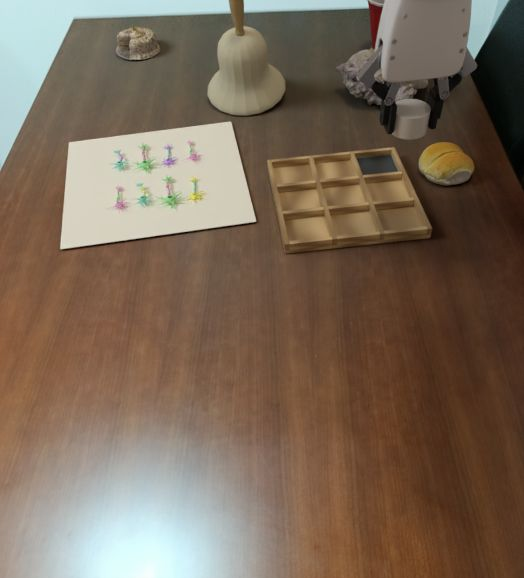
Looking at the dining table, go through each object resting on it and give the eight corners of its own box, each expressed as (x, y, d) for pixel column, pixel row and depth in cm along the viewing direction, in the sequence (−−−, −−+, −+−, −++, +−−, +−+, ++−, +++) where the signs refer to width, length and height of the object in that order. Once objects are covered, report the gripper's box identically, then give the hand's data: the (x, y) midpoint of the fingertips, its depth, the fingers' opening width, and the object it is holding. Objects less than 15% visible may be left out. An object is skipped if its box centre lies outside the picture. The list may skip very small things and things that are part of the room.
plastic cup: (350, 57, 123) (355, -6, 114) (374, 37, 129) (380, -24, 119) (397, 68, 119) (405, 5, 110) (420, 48, 125) (430, -15, 115)
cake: (143, 39, 134) (141, 14, 130) (169, 53, 130) (167, 27, 126) (106, 50, 130) (102, 24, 126) (132, 65, 125) (128, 38, 121)
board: (393, 156, 100) (394, 146, 98) (430, 238, 86) (432, 228, 85) (267, 169, 99) (267, 159, 97) (284, 253, 85) (284, 244, 84)
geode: (427, 125, 115) (384, 81, 121) (455, 80, 108) (409, 36, 114) (366, 121, 105) (324, 74, 112) (393, 72, 99) (346, 25, 105)
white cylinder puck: (420, 117, 79) (424, 96, 77) (432, 137, 76) (436, 116, 74) (384, 121, 79) (387, 100, 77) (394, 141, 76) (397, 120, 74)
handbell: (291, 72, 117) (286, -64, 95) (280, 124, 110) (271, -10, 88) (217, 69, 119) (195, -65, 98) (201, 120, 112) (174, -11, 91)
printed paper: (256, 223, 90) (256, 215, 89) (60, 251, 88) (57, 243, 87) (231, 123, 109) (230, 115, 108) (69, 143, 107) (67, 136, 105)
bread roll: (452, 151, 100) (457, 130, 97) (479, 180, 94) (485, 159, 91) (407, 161, 98) (411, 140, 95) (432, 191, 93) (437, 169, 90)
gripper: (496, -48, 66) (460, 105, 80) (348, -34, 65) (339, 119, 79) (524, -25, 61) (480, 134, 75) (365, -9, 60) (351, 149, 74)
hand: (408, 125), depth 77 cm, fingers closed on white cylinder puck, 5 cm apart
